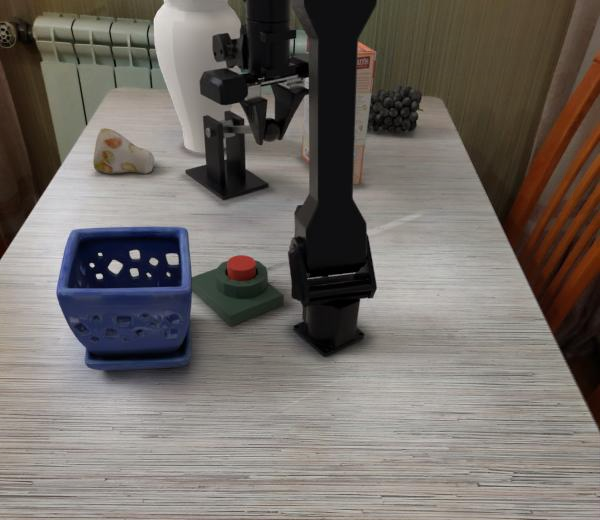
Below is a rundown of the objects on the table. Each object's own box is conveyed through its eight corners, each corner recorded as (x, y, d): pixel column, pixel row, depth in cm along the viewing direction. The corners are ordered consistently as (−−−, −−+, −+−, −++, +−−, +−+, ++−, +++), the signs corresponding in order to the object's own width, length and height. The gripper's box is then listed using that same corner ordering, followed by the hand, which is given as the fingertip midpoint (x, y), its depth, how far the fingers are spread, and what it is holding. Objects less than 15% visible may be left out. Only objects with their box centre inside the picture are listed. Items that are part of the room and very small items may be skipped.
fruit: (348, 82, 115) (428, 85, 114) (348, 84, 122) (422, 87, 122) (345, 132, 119) (422, 135, 118) (345, 131, 126) (417, 134, 126)
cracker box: (362, 186, 104) (378, 50, 89) (330, 191, 102) (341, 53, 87) (330, 154, 113) (339, 26, 98) (300, 158, 111) (305, 28, 97)
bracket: (268, 190, 101) (268, 123, 94) (223, 203, 97) (219, 135, 90) (229, 164, 108) (227, 101, 100) (185, 176, 104) (179, 110, 96)
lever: (286, 139, 87) (282, 115, 86) (268, 144, 86) (264, 119, 84) (230, 137, 99) (226, 116, 97) (213, 141, 97) (209, 120, 96)
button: (261, 276, 77) (261, 264, 76) (237, 285, 75) (237, 273, 74) (245, 264, 79) (245, 252, 78) (222, 272, 77) (221, 260, 76)
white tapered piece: (157, 183, 102) (118, 134, 94) (113, 200, 106) (72, 155, 98) (166, 155, 106) (129, 106, 98) (123, 173, 110) (84, 127, 102)
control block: (284, 304, 78) (285, 281, 76) (231, 327, 74) (229, 303, 72) (242, 270, 83) (241, 247, 81) (189, 288, 80) (187, 265, 77)
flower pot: (198, 308, 77) (189, 222, 68) (200, 378, 67) (191, 288, 59) (90, 314, 75) (68, 226, 67) (77, 386, 66) (50, 294, 57)
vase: (153, 140, 114) (129, -49, 94) (222, 127, 120) (213, -53, 100) (187, 169, 106) (169, -31, 85) (259, 153, 112) (258, -38, 92)
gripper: (289, -1, 86) (287, 114, 97) (173, 13, 78) (185, 137, 88) (339, 14, 80) (331, 135, 90) (218, 32, 71) (226, 163, 82)
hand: (269, 142), depth 88 cm, fingers closed on lever, 3 cm apart
